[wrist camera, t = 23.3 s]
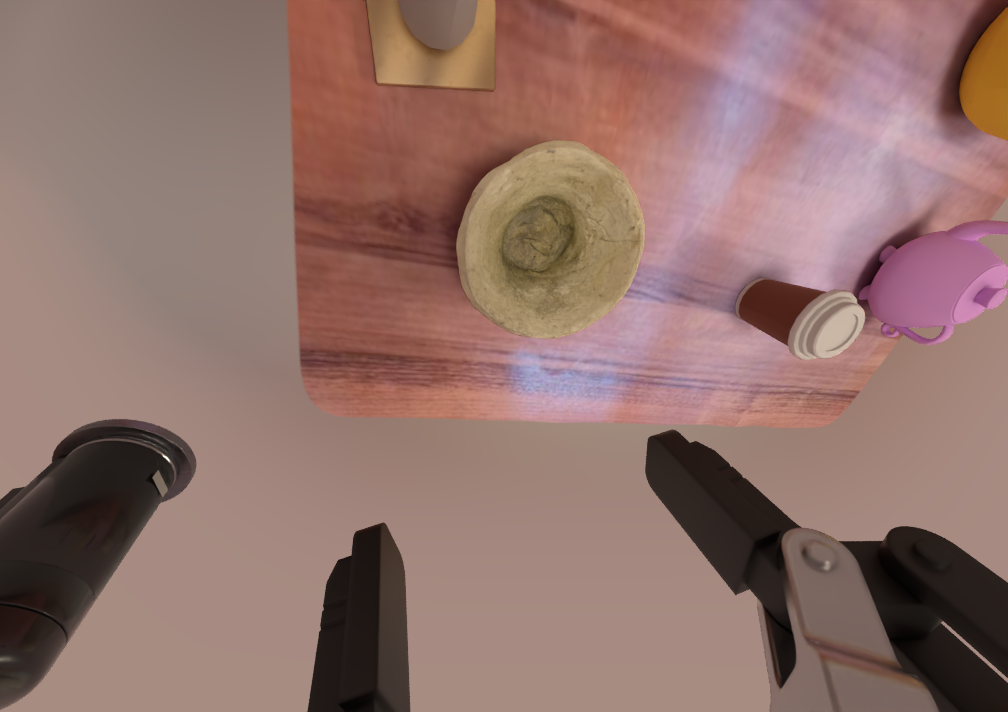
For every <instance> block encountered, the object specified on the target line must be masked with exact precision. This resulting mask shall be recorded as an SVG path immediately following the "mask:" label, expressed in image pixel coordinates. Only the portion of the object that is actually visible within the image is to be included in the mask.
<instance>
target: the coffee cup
mask: <svg viewBox="0 0 1008 712" xmlns="http://www.w3.org/2000/svg"><path fill="white" fill-rule="evenodd" d="M735 312H736V315H737V317H739V318H740V319H742V320H744V321H746V322H747V323H749V324H751V325H753V326H754V327H756V328H758V329H759V330H761V331H763V332H765V333H766V334H768V335H770V336H771V337H773V338H775V339H777V340H778V341H780V342H782V343H784V344H785V345H787V346H788V347H789V350H790V353H792V354H793V355H794V356H796V357H797V358H799V359H803V360H805V359H815V358H817V357H818V358H830V357H833V356H835V355H838V354H839V353H841V352H842V351H844V350H845V349H846V348H848V347H849V346H850V344H851V343H852V342H853V341H854V340H855V339H856V338H857V336H858V334H859V333H860V331H861V330H862V327H863V324H864V321H865V313H864V309H863V308H862V307H861V306H860V305H858V304H857V299H856V298H855V297H854V296H853V295H852V294H851V293H850V292H848V291H845V290H831V291H829V292H824V291H820V290H815V289H811V288H806V287H802V286H797V285H793V284H788V283H784V282H779V281H775V280H771V279H767V278H759V279H756V280H754V281H752V282H751V283H749V284H748V285H747V286H746V287H745V288H744V289H743V290H742V292H741V293H740V294H739V296H738V299H737V301H736V305H735Z"/></svg>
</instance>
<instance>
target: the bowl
mask: <svg viewBox="0 0 1008 712" xmlns="http://www.w3.org/2000/svg"><path fill="white" fill-rule="evenodd" d="M644 234H645V225H644V218H643V213H642V210H641V208H640V205H639V201H638V199H637V197H636V194H635V192H634V191H633V189H632V187H631V185H630V183H629V181H628V180H627V178H626V176H625V175H624V174H623V172H622V171H621V170H620V169H619V168H618V167H617V166H616V165H614V164H612V163H611V162H610V161H609V160H608V159H606V158H605V157H603V156H601V155H600V154H598V153H596V152H594V151H592V150H591V149H589V148H588V147H587V146H585V145H583V144H581V143H579V142H574V141H571V140H569V141H561V140H553V141H549V142H543V143H540V144H537V145H533V146H532V147H530V148H526V149H525V150H524V151H523V152H521V153H519V154H517V155H516V156H515V157H512V158H511V160H510V161H508V162H506V163H504V164H502V165H500V166H499V167H496V168H495V169H493V170H491V171H490V172H488V173H487V174H486V175H485V177H484V178H483V179H482V180H481V181H480V182H479V184H478V185H477V186H476V188H475V190H474V191H473V193H472V195H471V198H470V201H469V202H468V204H467V206H466V209H465V212H464V215H463V219H462V222H461V225H460V228H459V231H458V237H457V243H456V251H457V257H458V261H457V262H458V267H459V276H460V278H461V284H462V287H463V289H464V291H465V293H466V295H467V297H468V298H469V300H470V302H471V304H472V305H473V306H474V308H475V309H477V310H478V311H479V312H480V313H482V314H483V315H484V316H485V317H487V318H488V319H489V320H491V321H492V322H493V323H495V324H496V325H498V326H500V327H501V328H503V329H505V330H506V331H508V332H511V333H513V334H517V335H519V336H524V337H531V338H541V339H553V338H559V337H562V336H566V335H570V334H573V333H576V332H578V331H579V330H581V329H583V328H585V327H588V326H589V325H591V324H593V323H594V322H596V321H597V320H599V319H600V318H601V317H603V316H604V315H606V314H607V313H609V312H610V311H611V310H612V309H613V308H614V307H615V306H616V304H617V303H618V302H619V301H620V300H621V298H622V297H623V296H624V295H625V293H626V292H627V291H628V289H629V287H630V285H631V282H632V280H633V278H634V276H635V274H636V271H637V269H638V266H639V263H640V259H641V255H642V251H643V248H644V244H645V240H644Z"/></svg>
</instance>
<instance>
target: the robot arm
mask: <svg viewBox="0 0 1008 712" xmlns="http://www.w3.org/2000/svg"><path fill="white" fill-rule="evenodd" d="M645 469H646V470H645V472H646V477H647V480H648V483H649V485H650V487H651V488H652V490H653V491H654V492H655V493H656V495H657V496H658V498H659V499H660V500H661V501H662V503H663V504H664V505H665V506H666V508H667V509H668V510H669V511H670V513H671V514H672V515H673V516H674V518H675V519H676V520H677V521H678V523H679V524H680V525H681V527H682V528H683V529H684V530H685V532H687V534H688V535H689V537H690V538H691V539H692V540H693V542H694V543H695V544H696V545H697V547H698V548H699V549H700V551H701V552H702V553H703V554H704V556H705V557H706V558H707V559H708V561H709V562H710V563H711V565H712V566H713V567H714V568H715V569H716V571H717V572H718V573H719V574H720V576H721V577H722V578H723V580H724V581H725V582H726V583H727V585H728V586H729V587H730V589H731V590H732V591H733V592H734V594H735V595H737V594H739V593H742V592H744V591H746V590H749V589H750V590H751V591H752V592H753V593H754V595H755V596H756V597H757V598H758V599H757V608H758V614H759V621H760V627H761V632H762V639H763V645H764V652H765V658H766V664H767V671H768V677H769V683H770V692H771V703H770V712H1008V683H1007V682H1006V681H1005V680H1004V679H1003V678H1002V677H1000V676H999V675H998V674H997V673H996V672H995V671H994V670H993V669H992V668H990V667H989V666H988V665H987V664H986V663H985V662H984V661H982V659H980V658H979V657H978V656H977V655H976V654H975V653H973V651H971V650H970V649H969V648H968V647H967V646H966V645H965V644H964V643H962V642H961V641H960V640H959V639H958V638H957V637H956V636H955V635H954V634H952V633H951V632H950V631H949V630H948V629H947V628H945V626H943V625H942V624H941V622H942V621H944V622H945V623H946V624H947V625H948V626H950V627H951V628H952V629H953V630H954V631H955V632H956V633H957V634H959V635H960V636H961V637H962V638H963V639H964V640H965V641H966V642H968V643H969V644H970V645H971V646H972V647H973V648H974V649H976V650H977V651H978V652H979V653H980V654H981V655H982V656H983V657H985V658H986V659H987V660H988V661H989V662H990V663H991V664H992V665H994V666H995V667H996V668H997V669H998V670H999V671H1000V672H1002V673H1003V674H1004V675H1005V676H1006V677H1007V678H1008V583H1007V582H1006V581H1005V580H1003V579H1002V578H1000V577H999V576H998V575H996V574H995V573H993V572H992V571H991V570H989V569H988V568H987V567H985V566H984V565H983V564H981V563H980V562H978V561H977V560H976V559H974V558H973V557H971V556H970V555H969V554H967V553H966V552H965V551H963V550H962V549H961V548H959V547H958V546H956V545H955V544H953V543H952V542H950V541H948V540H946V539H945V538H943V537H941V536H939V535H937V534H934V533H932V532H929V531H927V530H924V529H920V528H915V527H908V526H902V527H896V528H894V529H891V530H890V531H889V532H888V534H887V536H886V537H885V539H884V540H883V541H837V540H836V539H834V538H832V537H831V536H829V535H827V534H825V533H822V532H820V531H817V530H813V529H808V528H802V527H800V526H799V525H797V524H796V523H795V522H793V521H792V520H791V519H790V518H789V517H788V516H787V515H785V514H784V513H783V512H782V511H781V510H780V509H779V508H778V507H777V506H775V505H774V504H773V503H772V502H771V501H770V500H769V499H768V498H767V497H765V496H764V495H763V494H762V493H761V492H760V491H759V490H758V489H757V488H756V487H754V486H753V485H752V484H751V483H750V482H749V481H748V480H747V479H746V478H743V477H742V475H741V474H740V473H739V472H738V471H737V470H736V469H734V468H733V467H731V466H730V464H729V463H728V462H727V461H726V460H724V459H723V458H722V457H721V456H720V455H719V454H718V453H717V452H716V451H714V450H712V449H711V448H708V447H707V446H705V445H703V444H701V443H699V442H697V441H695V442H692V443H689V442H688V441H687V440H686V439H685V438H684V437H683V436H682V435H681V434H680V433H679V432H677V431H676V430H669V431H666V432H663V433H660V434H657V435H654V436H651V437H649V438H648V443H647V456H646V468H645ZM177 478H178V466H177V463H176V461H175V460H174V458H173V457H172V456H171V455H170V454H169V453H168V452H167V451H166V450H164V449H163V448H161V447H160V446H158V445H156V444H154V443H151V442H149V441H146V440H143V439H139V438H135V437H128V436H104V437H98V438H94V439H91V440H88V441H86V442H84V443H82V444H80V445H79V446H77V447H76V448H75V449H74V450H73V451H72V452H71V453H70V454H66V455H61V456H59V457H58V458H57V459H56V460H55V461H54V462H52V463H51V464H50V465H49V466H48V467H47V468H46V469H45V470H44V471H43V472H41V473H40V474H39V475H38V476H37V477H36V478H35V479H34V480H33V481H31V482H30V484H28V485H27V486H26V487H22V488H15V489H12V490H11V491H10V492H9V493H8V494H7V495H6V496H4V497H3V498H2V499H1V500H0V710H1V709H3V708H6V707H8V706H10V705H11V704H13V703H15V702H17V701H19V700H20V699H22V698H23V697H25V696H26V695H27V694H29V693H30V692H31V691H32V690H33V689H34V688H35V687H36V686H37V685H38V684H39V683H40V682H41V681H42V680H43V678H44V677H45V676H46V674H47V673H48V672H49V670H50V669H51V667H52V666H53V664H54V663H55V661H56V660H57V658H58V657H59V655H60V654H61V652H62V651H63V649H64V648H65V646H66V645H67V643H68V642H69V640H70V639H71V637H72V636H73V634H74V633H75V631H76V630H77V628H78V627H79V625H80V624H81V622H82V621H83V619H84V618H85V616H86V615H87V613H88V611H89V610H90V608H91V607H92V605H93V604H94V602H95V601H96V599H97V598H98V596H99V595H100V593H101V592H102V590H103V589H104V587H105V586H106V584H107V583H108V581H109V580H110V578H111V577H112V575H113V573H114V572H115V571H116V569H117V568H118V566H119V565H120V563H121V562H122V560H123V559H124V557H125V556H126V554H127V552H128V551H129V549H130V548H131V546H132V545H133V543H134V542H135V540H136V539H137V537H138V536H139V534H140V533H141V531H142V530H143V528H144V527H145V525H146V524H147V522H148V521H149V519H150V518H151V516H152V515H153V513H154V512H155V510H156V509H157V507H158V505H159V504H160V503H161V501H162V500H163V498H164V497H165V495H166V494H167V492H168V491H169V490H170V489H171V488H172V486H173V485H174V483H175V482H176V480H177ZM323 607H324V611H322V618H321V625H320V626H321V631H320V632H319V638H318V645H317V652H316V658H315V665H314V673H313V679H312V685H311V692H310V699H309V706H308V712H410V692H409V665H408V640H407V615H406V614H407V613H406V586H405V570H404V565H403V560H402V557H401V554H400V552H399V550H398V548H397V546H396V544H395V541H394V539H393V538H392V536H391V534H390V532H389V529H388V527H387V525H386V524H385V523H381V524H377V525H374V526H371V527H368V528H365V529H362V530H359V531H356V532H355V534H354V538H353V546H352V556H349V557H346V558H343V559H340V560H338V561H337V563H336V565H335V567H334V569H333V571H332V573H331V575H330V577H329V579H328V581H327V584H326V591H325V598H324V604H323Z"/></svg>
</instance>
